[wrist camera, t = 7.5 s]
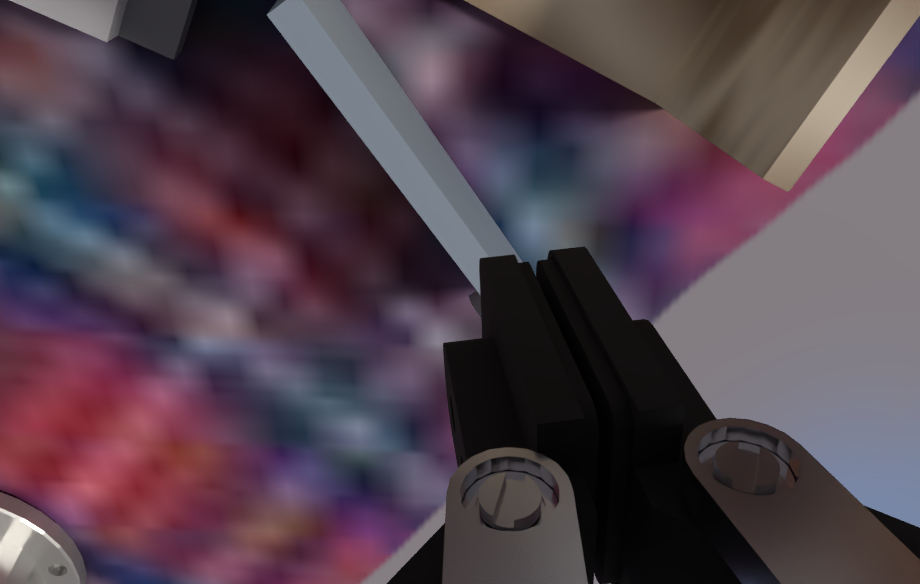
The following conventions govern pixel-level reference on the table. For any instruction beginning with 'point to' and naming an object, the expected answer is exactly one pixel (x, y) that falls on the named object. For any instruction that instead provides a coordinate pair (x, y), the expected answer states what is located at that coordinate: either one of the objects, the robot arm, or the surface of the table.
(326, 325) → the table surface
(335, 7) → the door
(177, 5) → the fader board
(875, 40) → the tan open box
